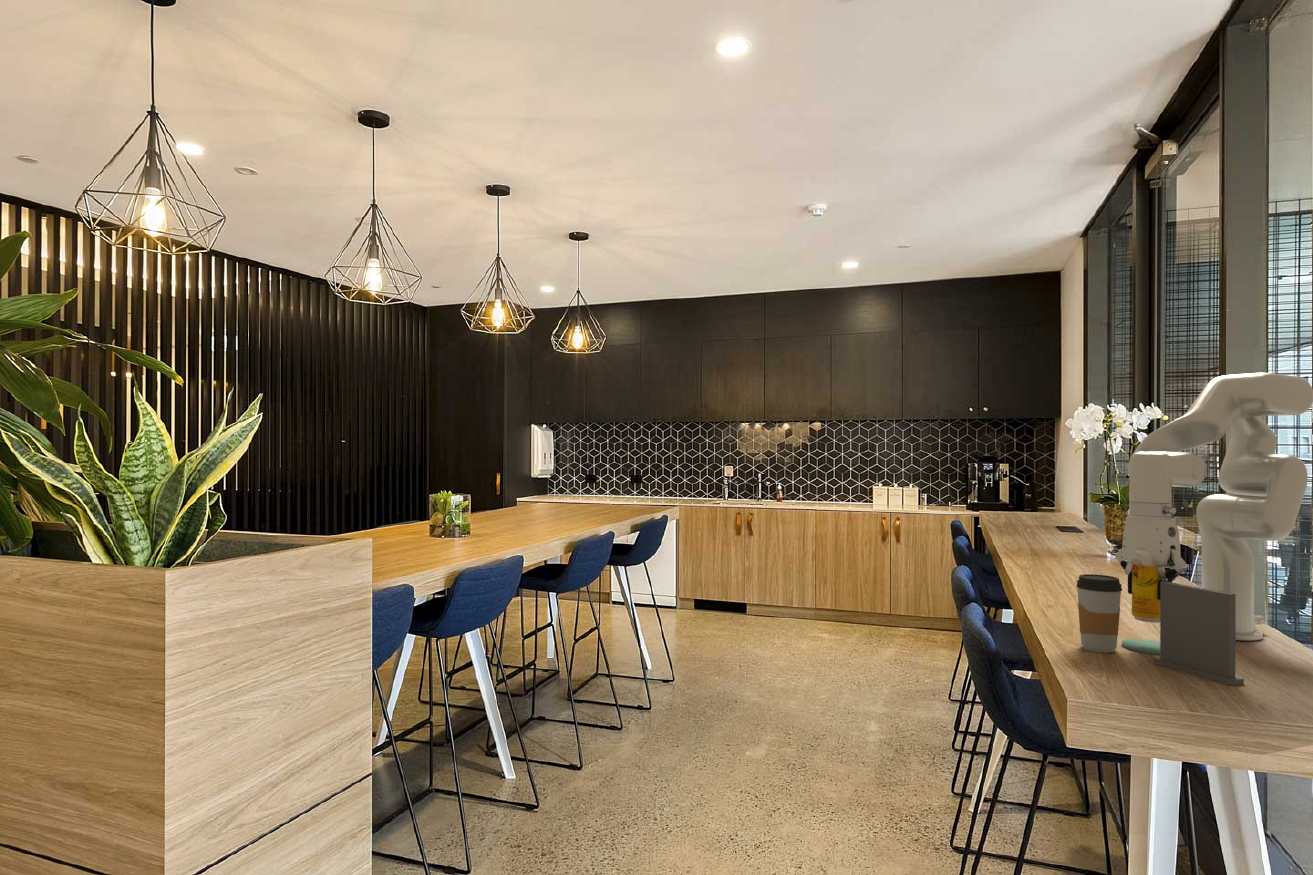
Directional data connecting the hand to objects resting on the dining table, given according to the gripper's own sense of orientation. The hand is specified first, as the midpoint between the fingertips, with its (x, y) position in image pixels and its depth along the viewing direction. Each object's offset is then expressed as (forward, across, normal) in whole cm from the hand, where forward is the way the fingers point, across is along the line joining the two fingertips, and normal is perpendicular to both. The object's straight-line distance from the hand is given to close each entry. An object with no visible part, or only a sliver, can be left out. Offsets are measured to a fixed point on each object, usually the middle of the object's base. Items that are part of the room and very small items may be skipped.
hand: (1149, 595), depth 161 cm
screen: (+11, -16, +8) cm, 21 cm away
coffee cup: (+11, +3, +10) cm, 16 cm away
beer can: (+5, 0, 0) cm, 5 cm away
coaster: (+11, 0, 0) cm, 11 cm away
